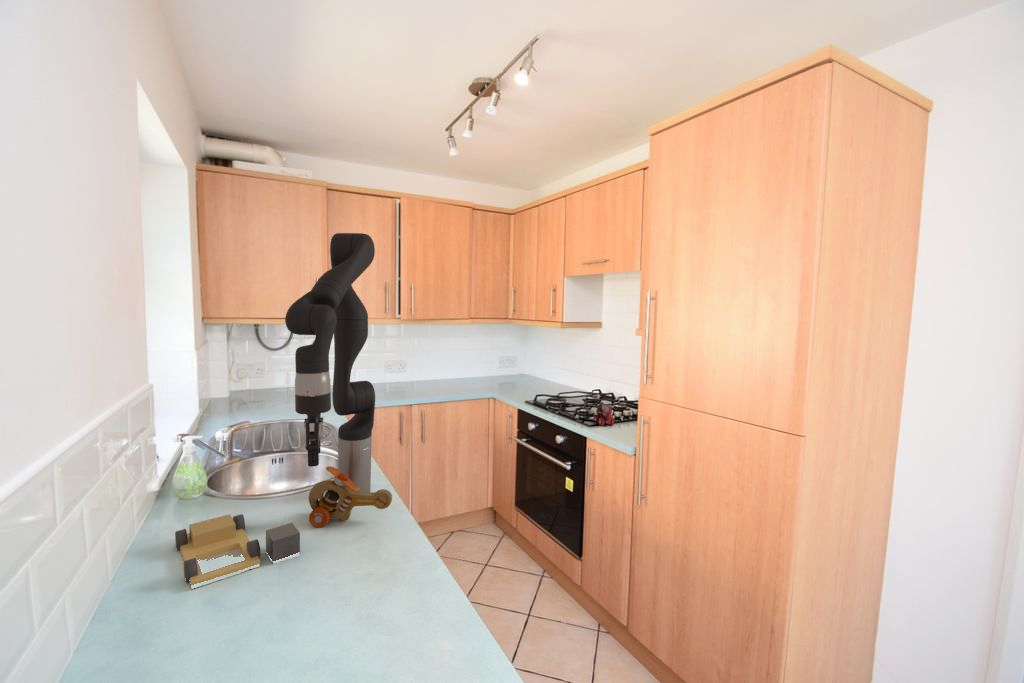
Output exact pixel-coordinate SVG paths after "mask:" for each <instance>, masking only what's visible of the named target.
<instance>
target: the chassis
mask: <svg viewBox="0 0 1024 683" xmlns="http://www.w3.org/2000/svg"><path fill="white" fill-rule="evenodd" d="M188 527H189V528H188V529H189V530H188V531H189V532H187V529H186V528H183V529H180V530H176V531H175V532H174V534H175V539H174V540H175V547H176V548H177V549H176V550H177V551H178V550H179V551H180V555H182V556H181V558H183V559H182V562H183V561H184V562H183V572H184V579H185V578H186V581H188V580H190V583H191V585H194V584H197V583H201V582H204V581H208V580H211V579H214V578H216V577H220V576H223V575H227V574H230V573H233V572H237V571H239V570H243V569H245V568H248V567H251V566H254V565H257V564H260V565H261V559H260V558H261V546H260V541H259V539H257V538H256V539H252V540H250V539H249V538H248V535H247V533H246V532H245V531H246V523H245V517H244V514H243V513H241V514H237V515H234V516H232V515H231V513H230V514H226V515H221V516H218V517H214V518H209V519H206V520H202V521H199V522H195V523H190V524H188ZM241 554H242V555H243V557H244V558H245V560H244V561H241V562H238V563H234V564H231V565H228V566H225V567H222V568H219V569H216V570H213V571H210V572H207V573H204V574H202V572H201V569H200V566H199V564H198V561H197V560H199V559H200V560H205V559H207V560H206V561H208V560H210V559H212V558H214V559H216V558H219V557H222V556H224V555H225V556H226V555H228V556H231V555H233V557H238V556H239V557H241V556H240V555H241ZM200 560H199V561H200ZM212 560H213V559H212ZM186 581H185V582H186ZM188 582H189V581H188ZM190 583H189V584H190Z"/></svg>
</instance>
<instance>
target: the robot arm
mask: <svg viewBox="0 0 1024 683" xmlns="http://www.w3.org/2000/svg"><path fill="white" fill-rule="evenodd" d="M329 246H330V248H329V256H330V264H331V268H330V269H328V270H327V271H325V272H324V273H323V274H322V275H321V276H319V278H318V279H317V281H316V283H314V284H313V286H312V288H311V290H309V291H308V292H306V293H305V294H303V296H301V297H299V298H298V299H297V300H295V301H294V302H293V303H292V304H291V305H290V306H289V308H288V309H287V311H286V314H285V318H284V319H285V321H284V322H285V326H286V329H287V330H288V331H289V332H290V333H292V334H294V335H299V336H315V337H314V340H313V342H312V343H311V344H307V345H303V346H299V347H298V348H297V349H296V350H295V352H294V353H295V356H294V357H295V359H294V360H295V378H294V406H295V407H294V409H295V413H297V414H298V415H306V418H304V421H303V429H304V440H305V449H306V451H307V466H308V467H309V468H311V467H317V466H319V464H320V456H319V455H320V454H321V440H322V433H323V427H324V417H323V416H322V415H321V414H324V413H327V412H329V411H330V410H331V409H332V406H333V409H334V410H333V411H334V412H335V413H336V415H338V416H340V417H341V416H350V415H353V416H352V418H350V419H349V420H348V421H346V422H344V423H342V424H341V425H340V426H339V427H338V429H337V430H338V431H337V432H338V433H337V434H338V435H337V469H338V470H339V471H340V472H342V473H346V474H347V475H348V478H349V479H350V480H351V481H352V482H354V483H355V484H356V485H357V486H358V487H359V488H360V490H359V491H356V492H371V486H372V485H371V481H372V479H371V478H372V475H371V474H372V442H373V441H372V436H373V435H372V431H373V429H374V422H375V409H376V408H375V407H376V392H375V387H374V386H373V384H372V383H371V382H370V381H368V380H359V381H358V380H357V381H351V374H352V369H353V365H354V363H355V361H356V360H357V358H358V356H359V354H360V353H361V351H362V350H363V348H364V346H365V344H366V342H367V339H368V336H369V314H368V311H367V309H366V306H365V305H364V303H363V302H362V300H361V299H360V297H359V295H358V294H357V293H356V291H355V290H354V287H353V283H355V282H356V280H357V279H358V278H359V277H361V275H362V274H363V273H364V272H365V271H366V270H367V269H368V268H369V267H370V266H371V264H372V263H373V261H374V259H375V254H376V251H375V250H376V248H375V243H374V240H373V238H372V236H371V235H369V234H367V233H362V232H361V233H360V232H338V233H337V232H336V233H334V234H333V236H331V239H330V243H329ZM332 341H333V342H334V344H333V346H334V350H333V352H334V362H333V363H334V364H333V365H334V366H333V367H334V368H333V379H332V385H331V375H330V350H331V345H332ZM331 386H332V389H331ZM331 390H332V393H331ZM331 394H332V395H331ZM346 486H347V485H346ZM351 490H352V489H351ZM352 491H354V490H352Z"/></svg>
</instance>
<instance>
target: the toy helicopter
mask: <svg viewBox="0 0 1024 683" xmlns="http://www.w3.org/2000/svg"><path fill="white" fill-rule="evenodd" d="M325 470H326V471H327V472H329V473H330V474H331V475H333V476H334V478H333V480H332V479H331V480H330V479H329V480H328V479H327V480H322V481H318V482H317V483H316V484H314V485H313V486H312V487H311V490H310V491H309V494H308V504H309V507H310V508H311V512H310V513H309V516H308V522H309V524H310V525H311V526H313V527H314V528H324V526H326V525H327V524H328V523H329V521H330V520H332V519H333V520H335V519H340V521H342V520H347V521H348V520H349V519H350V517H351V515H352V514H351V513H352V512H351V511H352V510H353V508H355V507H362V506H363V507H364V506H367V507H369V506H371V507H372V506H373V507H376V508H377V509H379V510H384V509H387V508H389V506H390V505H391V503H392V501H393V494H392V492H390V490H388V489H384V488H381V489H379V490H377V491H374V492H371V491H370V492H356V491H359V490H360V488H359V487H358V486H357V485H356V484H355V483H354V482H352V481H351V480H350V479H349V478H348V475H347V474H346V473H342V472H340V471H339V470H338V468H336V467H334V466H331V465H329V466H326V467H325ZM346 485H347V486H346ZM351 489H352V490H354V491H352V490H351Z"/></svg>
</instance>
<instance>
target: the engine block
mask: <svg viewBox="0 0 1024 683" xmlns="http://www.w3.org/2000/svg"><path fill="white" fill-rule="evenodd" d="M300 532H301V531H299V530H298V528H297V527H296V525H295V524H294V523H293V522H290V523H286V524H283V525H280V526H275V527H272V528H269V529H266V530H265V553H266V552H267V553H268V555H269V556H270V558H271V559H272V561H276V560H279V559H282V558H285V557H288V556H290V555H293V554H296V553H298V552H300V553H301V533H300Z"/></svg>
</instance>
